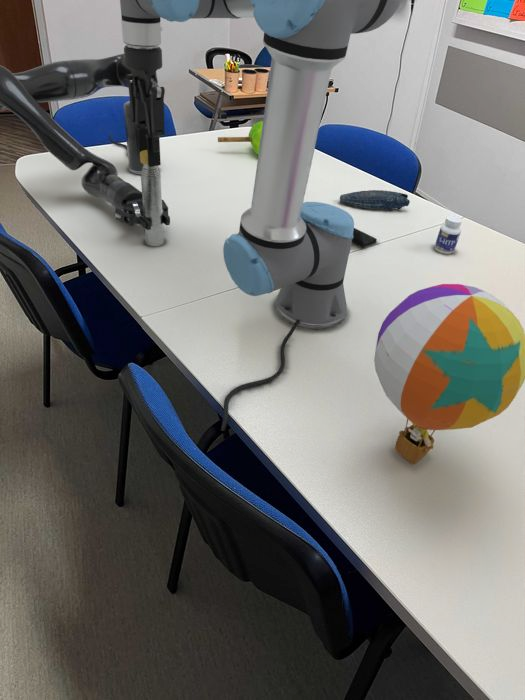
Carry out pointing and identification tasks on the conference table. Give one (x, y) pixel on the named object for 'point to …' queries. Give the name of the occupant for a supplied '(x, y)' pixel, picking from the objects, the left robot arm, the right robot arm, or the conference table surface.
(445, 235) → the pill bottle
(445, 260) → the conference table surface
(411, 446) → the toy
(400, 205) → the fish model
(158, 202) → the bottle
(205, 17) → the right robot arm
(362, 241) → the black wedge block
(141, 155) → the cap
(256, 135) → the decorative tree
